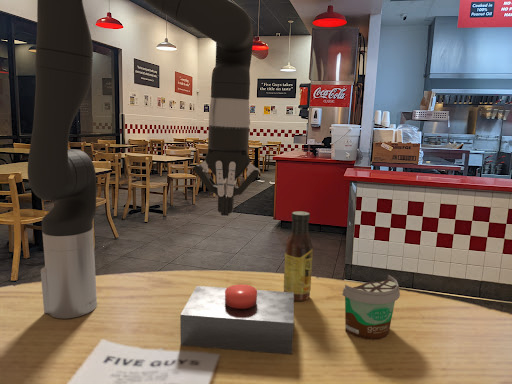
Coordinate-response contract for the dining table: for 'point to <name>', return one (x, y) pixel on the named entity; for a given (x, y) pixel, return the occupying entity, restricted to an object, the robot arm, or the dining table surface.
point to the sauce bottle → (298, 258)
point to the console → (238, 322)
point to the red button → (240, 296)
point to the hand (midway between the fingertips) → (225, 214)
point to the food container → (370, 308)
